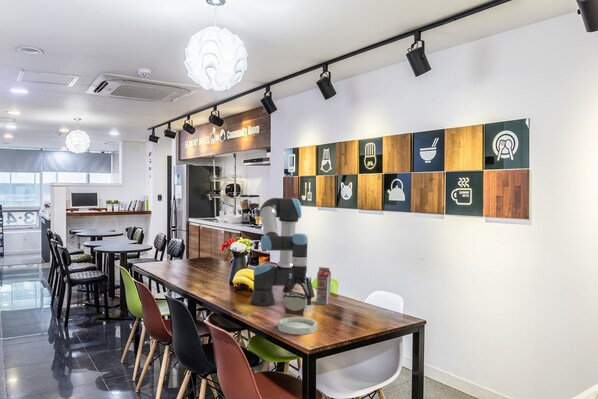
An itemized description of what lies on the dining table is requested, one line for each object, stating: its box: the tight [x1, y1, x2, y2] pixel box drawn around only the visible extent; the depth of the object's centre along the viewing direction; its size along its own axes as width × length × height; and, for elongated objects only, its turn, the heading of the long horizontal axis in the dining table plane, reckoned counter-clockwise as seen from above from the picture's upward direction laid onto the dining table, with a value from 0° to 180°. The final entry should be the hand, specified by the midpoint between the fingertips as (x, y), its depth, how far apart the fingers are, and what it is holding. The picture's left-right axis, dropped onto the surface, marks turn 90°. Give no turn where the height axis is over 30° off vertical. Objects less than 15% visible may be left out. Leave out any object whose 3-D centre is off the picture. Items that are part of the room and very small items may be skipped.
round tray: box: [277, 316, 318, 336], centre depth 213 cm, size 19×19×3 cm
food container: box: [282, 291, 307, 317], centre depth 213 cm, size 12×6×10 cm, turn 72°
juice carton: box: [315, 266, 332, 306], centre depth 266 cm, size 7×7×22 cm
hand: (297, 309), depth 212 cm, fingers closed on food container, 11 cm apart
